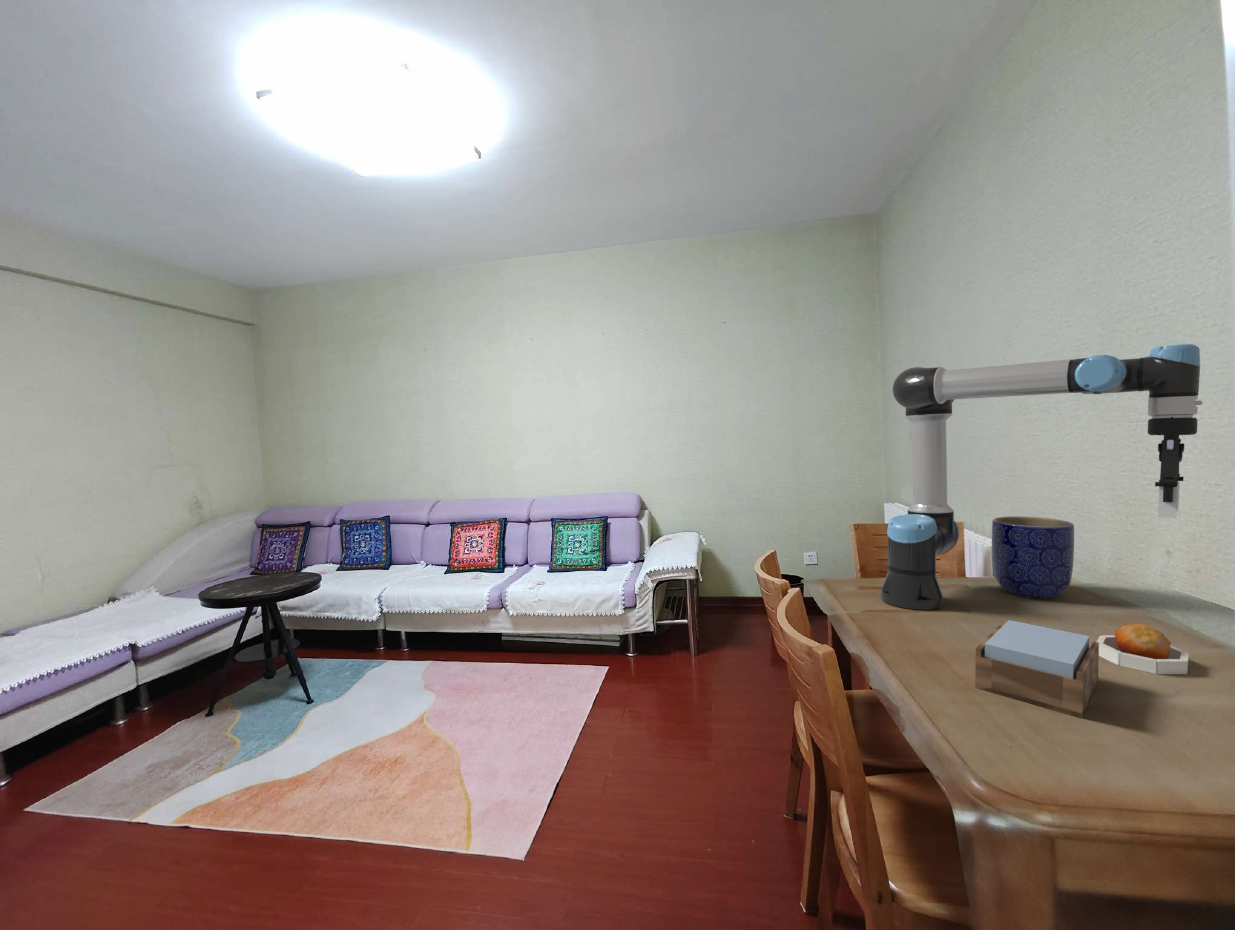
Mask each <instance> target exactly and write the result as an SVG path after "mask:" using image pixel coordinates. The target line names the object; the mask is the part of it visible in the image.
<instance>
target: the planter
mask: <svg viewBox="0 0 1235 930" xmlns="http://www.w3.org/2000/svg"><path fill="white" fill-rule="evenodd" d="M991 523H992V524H991V564H992V572H993V576H994V578H995V580H996V582H997V583H998V585H999V586H1000V587H1001V588H1002V589H1003V591H1006V592H1008V593H1009V594H1012V595H1015V596H1019V597H1024V598H1030V599H1040V600H1041V599H1045V600H1046V599H1047V600H1048V599H1049V600H1050V599H1053V598H1058V597H1059V596H1061V595H1063V594H1064V593H1065V592H1066V591H1067V589H1068V588H1069V586H1070V585H1071V582H1072V579H1073V578H1072V577H1073V571H1074V558H1075V525H1074V523H1072V522H1070V521H1067V520H1062V519H1056V518H1050V517H1049V518H1048V517H1038V516H1014V515H1013V516H999V517H995V518H993V519H992V521H991Z"/></svg>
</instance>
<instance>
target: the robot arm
mask: <svg viewBox="0 0 1235 930" xmlns="http://www.w3.org/2000/svg"><path fill="white" fill-rule="evenodd" d="M1200 351H1201V350H1200V348H1199V346H1197V345H1195V344H1192V343H1187V344H1186V343H1182V344H1172V345H1171V344H1170V345H1164V346H1163V345H1162V346H1157V347H1153V348H1152V349H1151V350H1150V353H1149V356H1145V357H1139V358H1126V359H1125V358H1124V359H1119V358H1117V357H1115V356H1112V355H1109V354H1103V355H1102V354H1098V355H1092V356H1090V357H1083V358H1075V359H1062V360H1060V359H1059V360H1050V361H1049V360H1047V361H1037V362H1025V363H1013V364H1002V365H995V366H983V367H982V366H981V367H972V368H961V369H946V368H945V367H943V366H939V367H938V366H937V367H922V366H918V367H917V366H914V367H911V368H907V369H904V370H903V371H902V372H900V373H899V374H898V375H897V377H896V378H895V380H894V381H893V385H892V395H893V397H894V399H895V401H896V402H897V403H898V404H899V405H900V406H902V407H903V408H905V418H906V419H907V420H909V421H910V423H911V449H912V452H911V453H912V456H911V457H912V459H911V460H912V497H913V499H912V501H913V502H912V504H911V505H910V506H909V507H908V508H907V513H906V514H904V515H901V514H900V515H896V516H893V517H892V518H890V519H889V521H888V522H887V523H888V525H887V529H886V534H887V573H886V575H885V579H884V582H883V583H882V586H881V589H880V598H881V600H882V601H883V602H885V603H886V604H888V605H891V606H895V607H899V608H904V609H909V610H922V611H924V610H925V611H927V610H936V609H937V610H938V609H941V608H942V607H943V606H944V595H943V593H942V589H941V587H940V584H939V580H938V579H937V575H936V574H937V573H936V572H937V571H936V569H937V557H938V556H941V555H944V554H946V553H948V552H950V551H952V549H954V547H955V546H956V545H957V543H958V541H959V539H960V528H959V526H958V523H957V522H956V521H955V514H954V513H955V512H954V511H955V510H954V509H953V508H952V506H950V505H949V504H948V469H947V468H948V467H947V466H948V465H947V463H948V462H947V461H948V459H947V458H948V457H947V420H948V419H949V418H951V416H952V415H953V402H955V400H966V399H969V400H970V399H984V398H985V399H986V398H1005V397H1019V396H1020V397H1021V396H1040V395H1042V396H1043V395H1056V394H1057V395H1059V394H1079V393H1080V394H1083V395H1101V394H1102V395H1103V394H1113V393H1114V394H1116V393H1118V394H1119V393H1131V392H1133V393H1134V392H1147V391H1148V399H1147V400H1148V401H1147V403H1148V404H1147V405H1148V406H1147V416H1149V417H1151V418H1149V419H1148V421H1147V434H1148V435H1150V436H1163V439H1162V440H1161V442H1160V443H1158V444H1157V451H1158V454H1159V455H1158V461H1159V462H1160V470H1159V471H1160V472H1159V474H1160V475H1159V480H1158V481H1154V486H1155V487H1158V507H1157V509H1158V511H1157V512H1158V513H1157V517H1158V518H1170V519H1172V518H1173V519H1177V515H1178V511H1179V506H1180V505H1179V504H1180V503H1179V502H1180V500H1179V499H1180V482H1184V478H1185V477H1184V476H1181V474H1180V462H1182V461H1183V454H1184V452H1185V443H1183V442H1182V439H1181V437H1180V436H1192V435H1196V434H1197V432H1198V418H1197V417H1194V416H1195V415H1197V414H1198V409H1199V407H1198V406H1201V405H1203V401H1202V400H1199V390H1200V389H1199V388H1200V375H1201V374H1200V373H1201V358H1200V357H1201V355H1200V353H1201V352H1200ZM1181 442H1182V443H1181Z"/></svg>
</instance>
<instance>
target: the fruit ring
mask: <svg viewBox="0 0 1235 930" xmlns="http://www.w3.org/2000/svg"><path fill="white" fill-rule="evenodd" d="M1096 642H1098V643H1099V657H1100V658H1103V659H1105V660H1107V661H1108V662H1110V663H1112V664H1114V665H1117V666H1120V667H1124V668H1128V669H1133V670H1136V671H1141V672H1146V673H1150V674H1155V675H1156V674H1157V675H1188V670H1189V656H1190V655H1189V652H1187V651H1185V650H1183V649H1180V648H1177V647H1175V646H1172V645H1170V654H1169V658H1168V659H1152V658H1147V657H1142V656H1137V655H1132V654H1128V653H1123V652H1121V651H1120V650H1119V649H1118V647H1117V643H1116V639H1115V634H1114V635H1113V634H1112V635H1111V634H1109V635H1108V634H1107V635H1099V637H1098V638H1097V640H1096Z"/></svg>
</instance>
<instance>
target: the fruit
mask: <svg viewBox="0 0 1235 930" xmlns="http://www.w3.org/2000/svg"><path fill="white" fill-rule="evenodd" d="M1114 635H1115V639H1116V643H1117V647H1118V649H1117V650H1118V651H1121V652H1123V653H1128V654H1132V655H1137V656H1142V657H1147V658H1152V659H1168V658H1169V654H1170V646H1172V644H1171V640H1169V639H1168V637H1166V636H1165V634H1164V633H1163V632H1161V631H1159V630H1158V629H1155V628H1153V627H1151V626H1149V625H1147V624H1145V623H1129V624H1125V625H1122V626H1120V627H1119V628H1118V629H1116V630H1115V632H1114Z"/></svg>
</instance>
